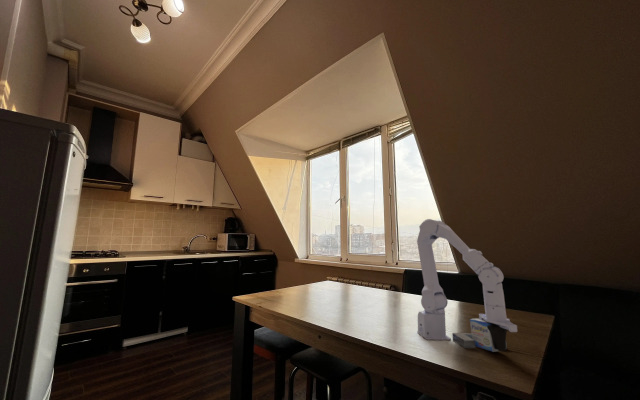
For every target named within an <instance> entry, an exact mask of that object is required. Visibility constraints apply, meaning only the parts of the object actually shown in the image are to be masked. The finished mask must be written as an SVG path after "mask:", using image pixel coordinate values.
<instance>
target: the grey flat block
mask: <svg viewBox="0 0 640 400" xmlns="http://www.w3.org/2000/svg"><path fill="white" fill-rule="evenodd" d="M452 341H453V342H455V343H456V344H458V345H459V346H461V347H462V348H463V349H476V346H475V340H473V339H472V332H470V333H468V332H452ZM507 347H508V346H507V342H506V350H507V349H508V348H507Z"/></svg>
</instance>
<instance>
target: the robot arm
mask: <svg viewBox="0 0 640 400" xmlns="http://www.w3.org/2000/svg"><path fill="white" fill-rule="evenodd" d="M439 238H441V239H444V240H446V241H447V242H448V243H449V244H450V245H452V246H453V247H454V248H455V249H456V251H458V252H459V253H460V254H462V261H464V263H465V264H467V265H468V267H469V268H470V269H472V270H473V272H474V273H475V274H476V275H477V277H478V279H479V282H481V284H482V294H483V302H484V303H483V304H484V312H485V313H478V319H479V320H485V321H487V322H490V323H491V325H487V328H488V329H489V331H490V333H491V336H492V341H493V346H494V348H495V349H498V351H497V352H506V351H507V349H506V343H507V339H506V338H507V332H508V331H509V332H510V333H517V332H518V325H517V324H514V323H513V322H511V321H510V320H511V319H510V318H508V317H507V312H506V311H507V310H506V302H505V294H504V289H503V283H502V282H503V281H504V278H505V276H504V274H503V272H502V270H501V269H500V268H499V267H497V266H494V263H492V262H489V260H488V259H487V258H485V257H484V256H483V253H482V251H481V250H477V249H475V248H470V247H469V246H468V245H467V244H466V243H465V242H464V241H463V240H462V239H461V237H459V236H458V235H457V234H456V232H455V231H454V230H453V229H452V228H451V227H450V226H449V225H447V224H446V223H445V221H443V220H436V219H432V218H427V219H425V220H423V221H422V222H421V224H420V225H419V231H418V236H417V238H416V239H417V240H416V243H417V248H418V254H419V255H418V256H419V260H420V261H419V262H420V267H421V274H422V279H423V285H424V286H423V288H422V290H421V299H420V304H421V306H422V309H424V310H421V311H418V313H417V331H416V332H417V333H418V335H420V336H421V337H422V338H424V339H426V340H430V341H431V340H432V341H433V340H435V341H436V340H438V341H441V340H443V341H449V340H452V339H451V337H449V336H448V335H447V332H446V331H447V329H446V327H447V326H446V309H445V308H447V306H448V303H449V302H448V298H447V297H446V294H445V293H444V289H443V288H442V287H441V285H440V283H439V277H438V272H437V271H438V270H437V266H436V261H435V260H436V259H435V255H434V249H433V244H434V243H435V242H436V240H438V239H439Z"/></svg>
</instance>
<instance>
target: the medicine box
mask: <svg viewBox="0 0 640 400" xmlns="http://www.w3.org/2000/svg"><path fill="white" fill-rule="evenodd" d="M469 323H470V325H469V326H470V333H472V339H473V340H475V348H479V349H483V350H486V351H488V352H489V351H490V352H492V353H494V352H495V353H496V352H499V351H498V349H495V348H494V346H493V341H492V336H491V333H490V331H489V329H488V328H487V325H491V323H490V322H487V321H485V320H479V318H470V319H469Z"/></svg>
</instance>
